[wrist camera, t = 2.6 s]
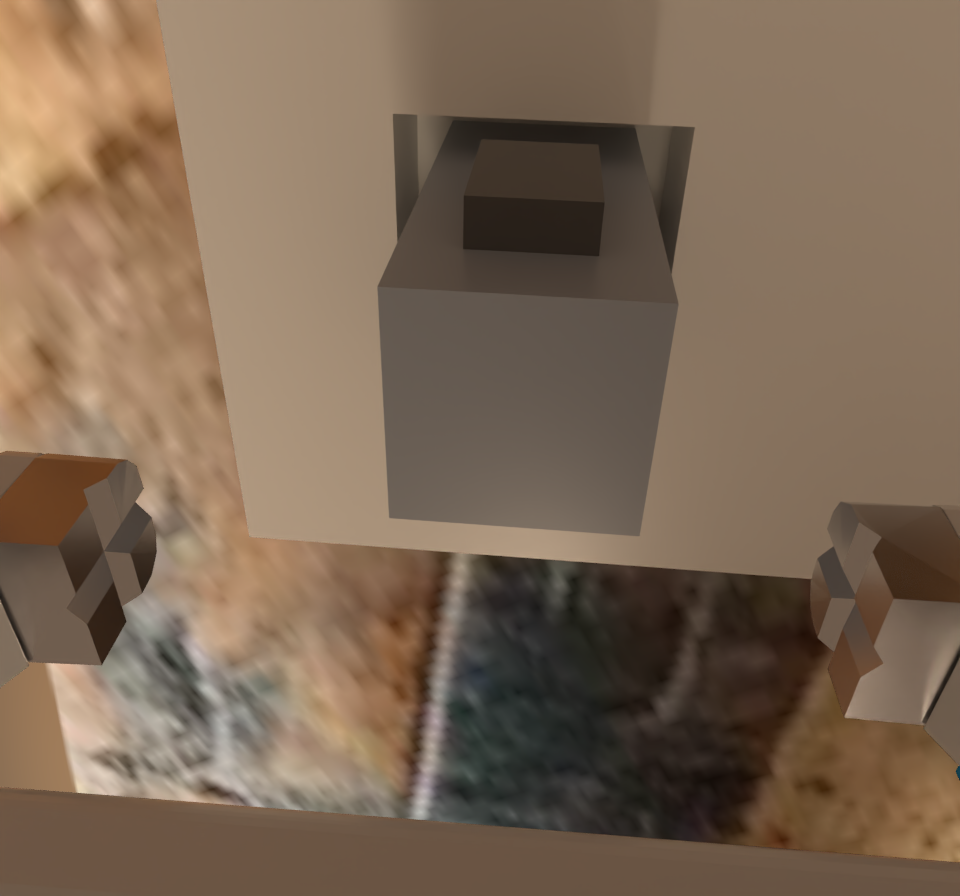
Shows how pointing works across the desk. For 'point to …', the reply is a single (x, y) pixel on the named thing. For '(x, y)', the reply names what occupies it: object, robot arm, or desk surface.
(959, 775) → the book
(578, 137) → the plug
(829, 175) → the socket board
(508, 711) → the desk surface
